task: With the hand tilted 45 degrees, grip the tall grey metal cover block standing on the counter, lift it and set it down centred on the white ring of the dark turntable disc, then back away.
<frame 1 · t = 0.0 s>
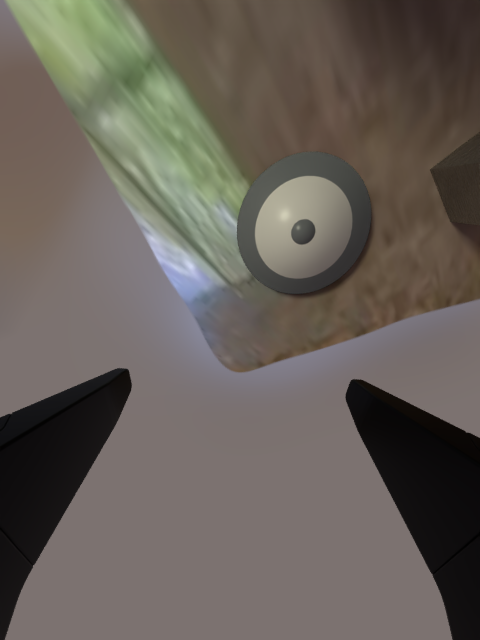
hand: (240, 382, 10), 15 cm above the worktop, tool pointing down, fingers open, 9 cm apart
cover block: (472, 174, 19), on the worktop
turntable: (299, 230, 21), on the worktop
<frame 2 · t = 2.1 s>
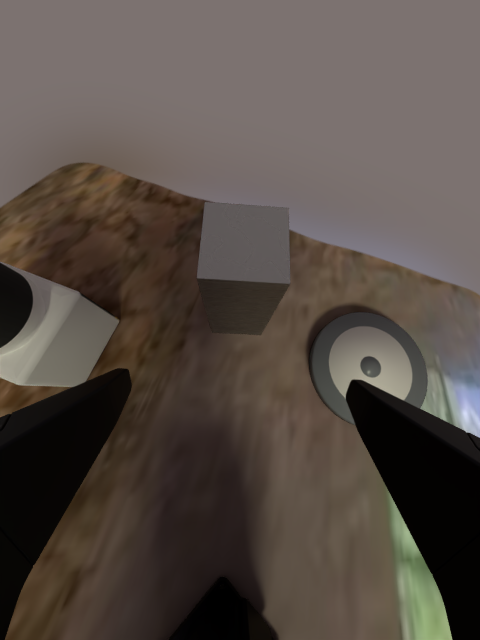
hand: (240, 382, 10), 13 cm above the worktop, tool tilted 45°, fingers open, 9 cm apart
medicine bottle: (72, 339, 23), on the worktop
cover block: (237, 310, 25), on the worktop
turntable: (363, 368, 24), on the worktop
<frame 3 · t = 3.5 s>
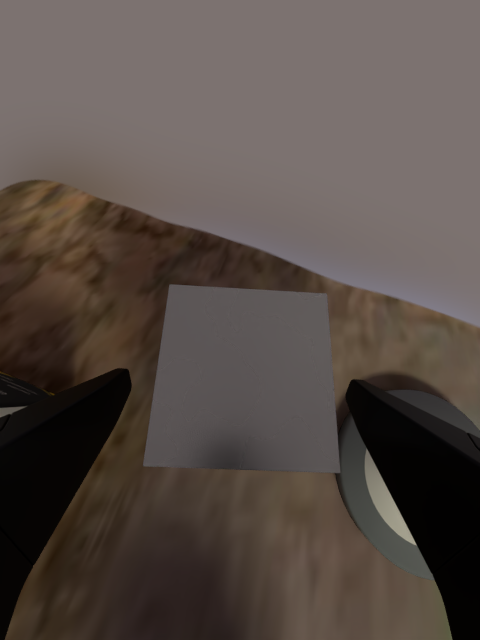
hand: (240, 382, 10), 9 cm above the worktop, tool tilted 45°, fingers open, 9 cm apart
medicine bottle: (3, 432, 17), on the worktop
cover block: (235, 384, 18), on the worktop
turntable: (410, 469, 17), on the worktop
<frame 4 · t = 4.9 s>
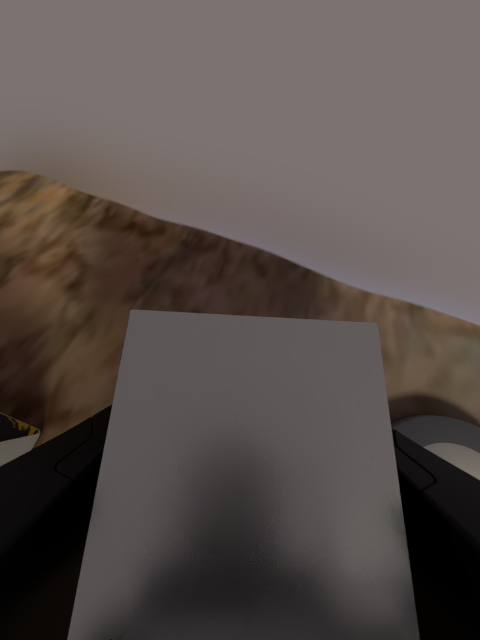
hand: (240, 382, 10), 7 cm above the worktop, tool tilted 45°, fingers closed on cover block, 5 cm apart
cover block: (234, 408, 15), on the worktop, touching gripper
turntable: (442, 511, 14), on the worktop
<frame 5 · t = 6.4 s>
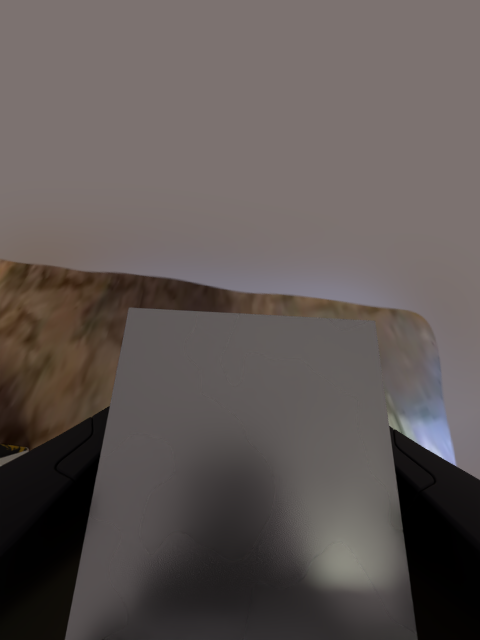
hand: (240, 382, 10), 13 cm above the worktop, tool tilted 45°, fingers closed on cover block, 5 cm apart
cover block: (234, 408, 15), point 7 cm above the worktop, touching gripper
when the fingers open (9 cm above the worktop, at t = 8.0 s): cover block drops 1 cm, resting on turntable.
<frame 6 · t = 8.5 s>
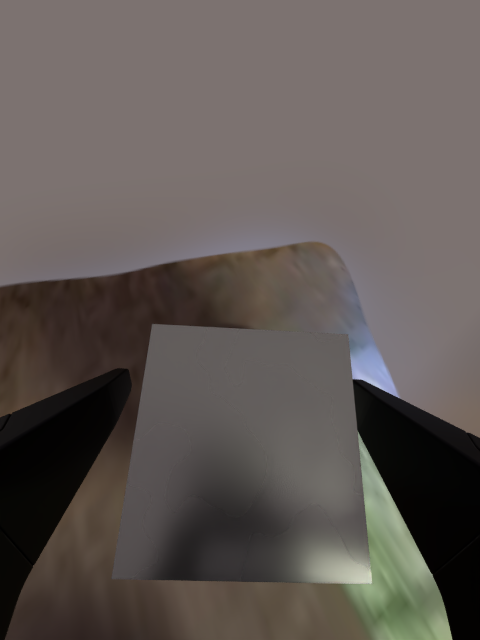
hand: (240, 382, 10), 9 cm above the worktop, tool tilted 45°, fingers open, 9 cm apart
cover block: (234, 406, 17), point 1 cm above the worktop, touching turntable
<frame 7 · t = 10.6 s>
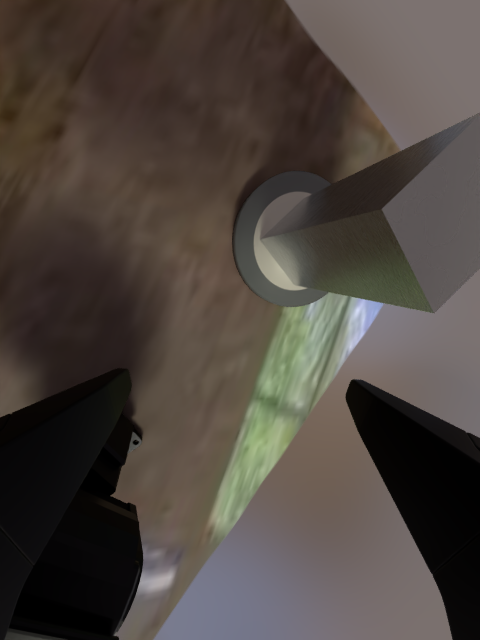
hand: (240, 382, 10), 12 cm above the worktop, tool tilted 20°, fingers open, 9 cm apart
cover block: (298, 243, 20), point 1 cm above the worktop, touching turntable
turntable: (291, 244, 21), on the worktop
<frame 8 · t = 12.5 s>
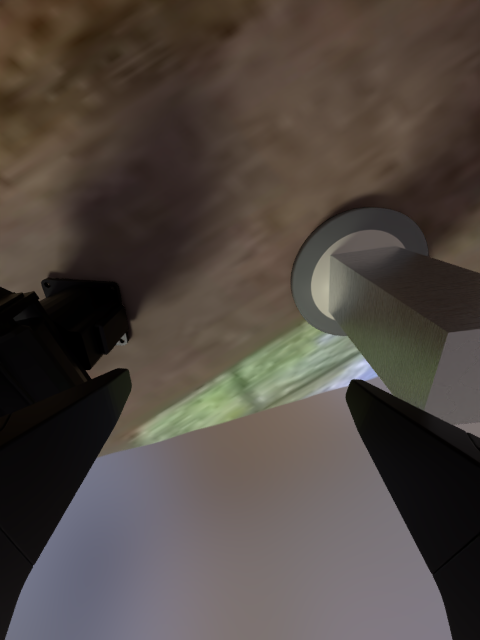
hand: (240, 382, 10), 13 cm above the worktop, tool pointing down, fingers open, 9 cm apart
cover block: (359, 280, 20), point 1 cm above the worktop, touching turntable
turntable: (352, 275, 21), on the worktop
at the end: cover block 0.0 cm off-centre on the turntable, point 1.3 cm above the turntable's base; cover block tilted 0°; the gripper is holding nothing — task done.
